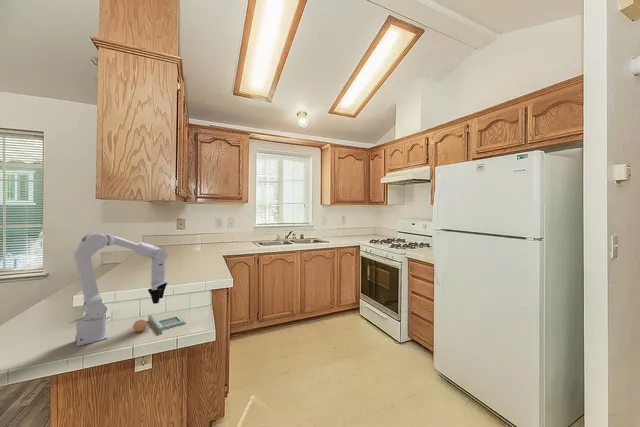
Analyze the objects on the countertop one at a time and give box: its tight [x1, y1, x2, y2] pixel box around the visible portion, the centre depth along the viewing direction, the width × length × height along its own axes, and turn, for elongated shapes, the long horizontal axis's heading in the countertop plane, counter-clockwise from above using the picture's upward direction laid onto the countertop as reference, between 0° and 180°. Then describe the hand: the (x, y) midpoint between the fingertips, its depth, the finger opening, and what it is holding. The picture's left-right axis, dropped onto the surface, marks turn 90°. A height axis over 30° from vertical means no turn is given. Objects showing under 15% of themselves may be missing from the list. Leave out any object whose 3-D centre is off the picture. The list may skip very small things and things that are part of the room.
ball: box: [132, 319, 147, 333], centre depth 118 cm, size 5×5×5 cm
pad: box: [156, 315, 187, 331], centre depth 127 cm, size 11×11×1 cm
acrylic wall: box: [147, 314, 163, 335], centre depth 123 cm, size 1×20×2 cm, turn 45°
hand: (158, 300), depth 130 cm, fingers open, 7 cm apart
